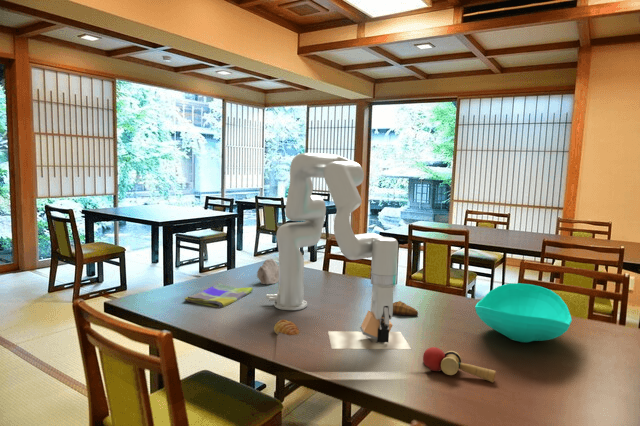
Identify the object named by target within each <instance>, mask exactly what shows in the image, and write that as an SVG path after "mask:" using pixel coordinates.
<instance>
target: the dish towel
mask: <svg viewBox="0 0 640 426" xmlns="http://www.w3.org/2000/svg"><path fill="white" fill-rule="evenodd" d="M252 291H253V287H249V286H248V287H234V286H230V285H226V284H222V283H216V284H214V285H212V286H210V287H208V288H207V289H204V290H201V291H200V292H197V293H195V294H192V295H189V296H187V297H186V296H185V298H184V301H186V302H188V303H193V304H198V305H203V306H207V307H208V306H209V307H214V308H218V309H220V308H224V307H226V306H228V305H231V304H233V303H236V302H238V301H239V300H240V299H243V298H244V297H246V296H248V295H249V294H250V293H251V292H252Z"/></svg>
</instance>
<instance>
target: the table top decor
mask: <svg viewBox="0 0 640 426" xmlns="http://www.w3.org/2000/svg"><path fill="white" fill-rule="evenodd" d="M474 308H475V313H476V315H477V316H478V317H479V319H480V320H481V321H482V322H483V323H484V324H485V325H487V326H488V327H490V328H491V329H493V330H494V331H496V332H497V333H499V334H501V335H503V336H505V337H506V338H508V339H510V340H512V341H515V342H520V343H531V342H538V341H539V342H540V341H541V342H543V341H549V340H555V339H556V338H558V337H560V336H563V335H564V334H565V333H566V332H567V331H568V330H569V328H570V327H571V323H572V321H573V320H572V315H571V312H570V310H569V307H568V305H567V304H566V303H565V301H564V300H563V299H562V297H561V296H560V295H559V294H557V293H556V292H555V291H553V290H552V289H548V288H546V287H543V286H540V285H535V284H530V283H519V282H516V283H505V284H503V285H499V286H497V287H495V288H493V289H491V290H489V291H488V293H487V294H485V296H483V298H481V299H480V300H478V301H477V303H476V305H475V306H474Z"/></svg>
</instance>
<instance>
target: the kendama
mask: <svg viewBox="0 0 640 426" xmlns="http://www.w3.org/2000/svg"><path fill="white" fill-rule="evenodd" d="M461 357H462V356H461V355H460V354H459V353H458V352H456V351H454V350H449V351H446V352H444V351H443V350H442V349H440V348H439V347H435V346H432V347H429V348H427V349H426V350H425V351H424V353H423V355H422V362H423V364H424V366H425V367H427V368H428V369H429V371H432V372H440V371H442V372H443V373H444V374H445V375H448V376H453V375H455V374H457V372H458V371H459V370H461V371H463V372H465V373H468V374H470V375H473V376H475V377H478V378H480V379H483V380H486V381H487V382H490V383H494V382H495V377H496V374H497V373H496V372H497V371H496V370H494V369H489V368H486V367H481V366H477V365H473V364H468V363H464V362H462V358H461Z"/></svg>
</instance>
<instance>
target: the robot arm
mask: <svg viewBox="0 0 640 426" xmlns="http://www.w3.org/2000/svg"><path fill="white" fill-rule="evenodd" d="M312 178H313V179H314V178H317V179H318V178H319V179H320V178H321V179H324V182H325V183H326V186H327V189H328V191H329V194H330V196H331V199H332V200H333V201H332V202H333V203H334V206H335V209H336V213H335V216H334V218H333V219H334V220H333V233H334V234H333V235H334V238H335V240H336V243H337V246H338V248H339V250H340V252H341V253H342V255H343V256H344V257H345V258H346V259H348V260H351V261H355V260H362V259H369V258H370V259H371V265H370V267H371V268H370V269H371V272H370V284H371V285H372V287H371V296H370V311H371V312H372V314H373V316H374V318H375V319H376V320H378V319H379V328H378V339H377V341H378V342H388V341H389V320H390V321H391V320H392V319H393V315H394V314H393V303H394V287H396V286H397V280H398V279H397V275H398V273H397V272H398V256H399V255H398V253H399V242H398V240H397V239H396V238H394V237H391V236H390V237H389V236H383V235H380V234H378V233H375V232H369V233H368V232H367V233H358V234H355V233H354V231H353V229H352V225H351V220H350V218H351V213H352V212H355V210H356V209H358V208H359V207H360V206H361V205H362V201H363V200H362V197H361V195H360V193H359V190H358V188H357V187H359V186H360V185H361V184H362V183H363V181H364V178H365V173H364V169H363V167H362V166H361V164H359V163H358V162H357V161H354V160H352V159H348V158H346V157H343V156H341V155H338V154H332V153H320V152H302V153H299V154H297V155H296V156H295V157H293V159H292V161H291V163H290V167H289V187H288V192H287V196H286V203H285V209H284V210H285V217H286V218H287V219H288V220H290V221H292V222H286V223H284V224H282V225H280V226H279V227H278V228H277V231H276V242H277V248H278V266H279V278H278V282H277V284H278V286H277V290H278V291H277V292H276V293H274V294H271V293H270V294H269V293H267V294H266V297H265V298H266V299H265V300H268V301H269V302H270V301H271V302H273V306H274V307H275V308H276V309H279V310H281V311H300V310H303V309H305V308H307V306H308V301H306V300H305V299H304V286H305V285H304V279H305V277H304V276H305V259H304V255H303V253H302V252H301V250H300V248H301V249H302V248H306V247H307V248H308V247H313V246H315V245H317V244H318V243H319V242H320V240H321V237H322V232H323V228H324V223H325V219H326V213H327V207H326V202H325V200H324V198H322V197H321V195H317V194H312V193H313V188H314V184H313V181H312ZM381 317H384V318H381ZM382 321H384V322H383V323H382Z"/></svg>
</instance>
